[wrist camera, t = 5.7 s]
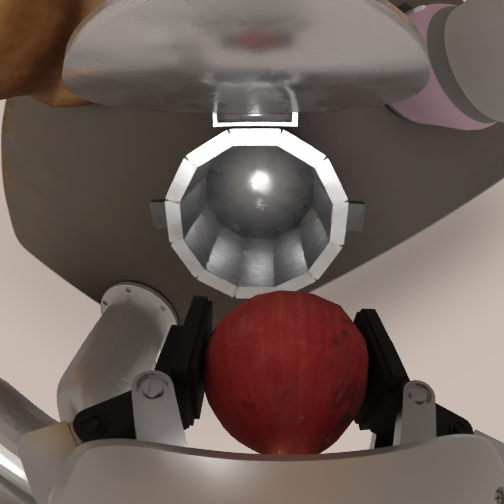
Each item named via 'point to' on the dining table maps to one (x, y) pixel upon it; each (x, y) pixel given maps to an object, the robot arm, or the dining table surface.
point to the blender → (459, 65)
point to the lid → (246, 57)
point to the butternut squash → (39, 48)
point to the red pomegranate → (286, 372)
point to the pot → (256, 210)
